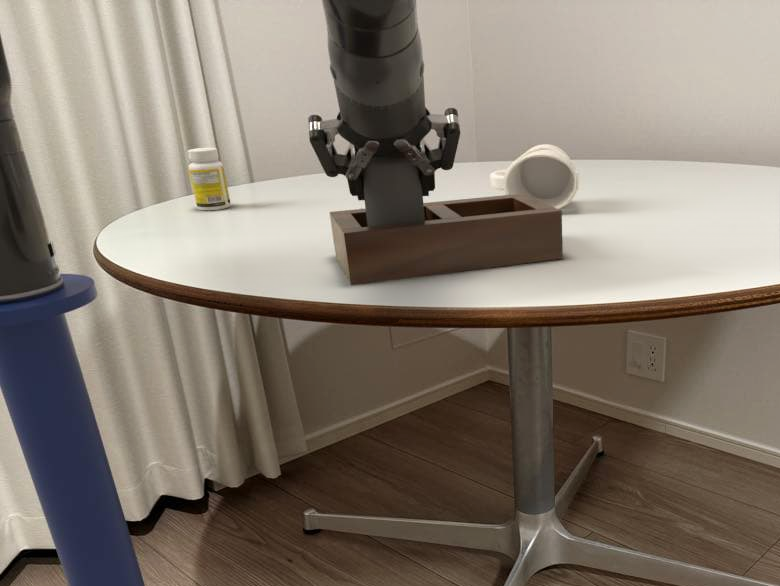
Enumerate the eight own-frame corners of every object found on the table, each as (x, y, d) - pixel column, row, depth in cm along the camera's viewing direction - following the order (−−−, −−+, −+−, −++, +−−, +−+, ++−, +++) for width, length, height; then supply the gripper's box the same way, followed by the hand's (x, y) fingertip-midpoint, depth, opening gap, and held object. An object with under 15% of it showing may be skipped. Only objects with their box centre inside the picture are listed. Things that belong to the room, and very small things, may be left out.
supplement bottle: (212, 204, 120) (200, 147, 117) (237, 205, 119) (226, 147, 116) (190, 210, 116) (177, 151, 113) (216, 211, 115) (204, 151, 111)
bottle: (417, 254, 86) (402, 109, 80) (437, 265, 82) (423, 111, 76) (365, 262, 84) (346, 112, 78) (383, 274, 79) (364, 115, 73)
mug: (579, 201, 113) (579, 142, 109) (578, 214, 104) (577, 151, 101) (496, 203, 113) (493, 145, 110) (488, 216, 105) (484, 153, 102)
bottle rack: (563, 258, 83) (562, 210, 80) (350, 285, 76) (343, 233, 74) (525, 236, 93) (523, 193, 91) (335, 257, 86) (329, 211, 84)
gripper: (458, 30, 68) (458, 157, 84) (287, 36, 66) (319, 165, 82) (468, 99, 66) (466, 217, 81) (290, 107, 63) (323, 227, 79)
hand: (392, 190), depth 81 cm, fingers closed on bottle, 6 cm apart
